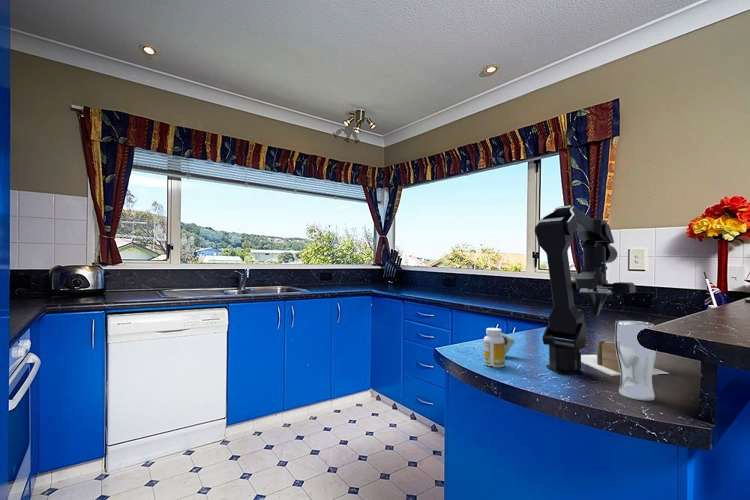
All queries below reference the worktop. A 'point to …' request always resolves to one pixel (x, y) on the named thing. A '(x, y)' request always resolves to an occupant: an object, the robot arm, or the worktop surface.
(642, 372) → the beer glass
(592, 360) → the card
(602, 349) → the fixed fence
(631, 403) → the worktop surface
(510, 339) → the pig figurine
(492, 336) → the supplement bottle
